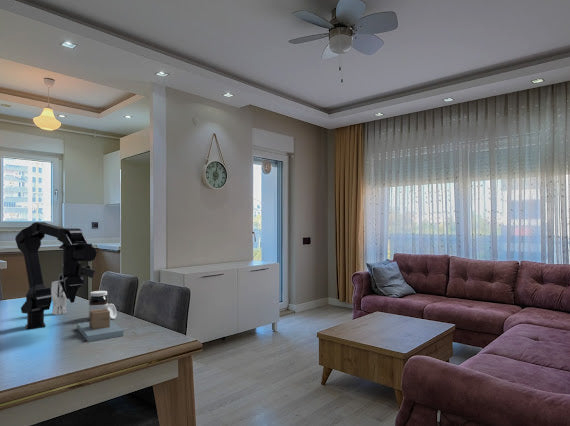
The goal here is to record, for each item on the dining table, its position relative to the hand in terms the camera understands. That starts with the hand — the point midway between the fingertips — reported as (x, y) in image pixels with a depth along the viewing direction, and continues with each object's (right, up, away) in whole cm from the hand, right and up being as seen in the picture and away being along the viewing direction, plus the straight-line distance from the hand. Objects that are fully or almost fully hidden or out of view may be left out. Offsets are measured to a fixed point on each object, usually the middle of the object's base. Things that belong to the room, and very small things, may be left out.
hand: (70, 300), depth 149 cm
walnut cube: (+12, -10, -1) cm, 16 cm away
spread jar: (+3, -13, +21) cm, 24 cm away
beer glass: (-22, -13, +30) cm, 40 cm away
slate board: (+12, -12, -1) cm, 17 cm away
